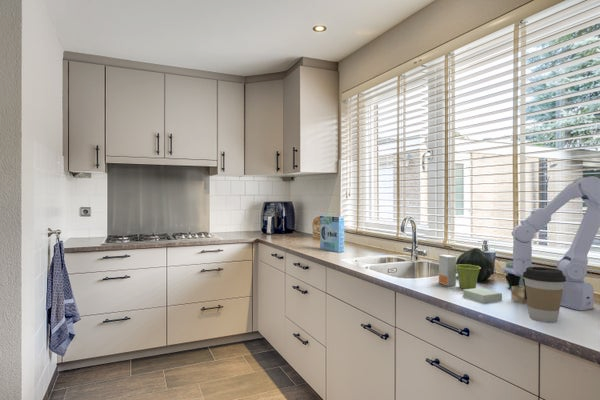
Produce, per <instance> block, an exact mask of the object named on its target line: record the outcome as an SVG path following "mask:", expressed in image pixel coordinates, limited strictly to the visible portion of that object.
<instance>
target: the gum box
mask: <svg viewBox="0 0 600 400" xmlns="http://www.w3.org/2000/svg"><path fill="white" fill-rule="evenodd" d="M319 220H320V222H319V230H320V231H319V233H320V234H319V237H320V238H319V240H320V241H319V244H320V245H319V246H320V247H319V250H324V251H330V252H335V253H345V216H337V215H319Z"/></svg>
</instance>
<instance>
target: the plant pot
mask: <svg viewBox="0 0 600 400" xmlns="http://www.w3.org/2000/svg"><path fill="white" fill-rule="evenodd" d="M456 267H457V268H456V272H457V277H458V287H459V288H461V289H463V290H465V289H473V288H477V283H478V281H477V278H478V273H479V270H480V269H481V267H479V266H474V265H466V264H459V265H456Z"/></svg>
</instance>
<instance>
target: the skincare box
mask: <svg viewBox="0 0 600 400" xmlns="http://www.w3.org/2000/svg"><path fill="white" fill-rule="evenodd" d="M438 256H439V257H438V283H440V284H441V285H445V286H447V287H451V286H456V284H457V283H456V282H457V268H456V261H457V256H455V255H449V254H439V255H438Z"/></svg>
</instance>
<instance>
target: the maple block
mask: <svg viewBox="0 0 600 400" xmlns="http://www.w3.org/2000/svg"><path fill="white" fill-rule="evenodd" d="M510 291H511V295H510V298H511V299H510V300H511V301H512V302H515V303H520V304H524V305H525V304H527V299H525V287H524V286H521V285H519V286H512V288H510Z"/></svg>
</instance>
